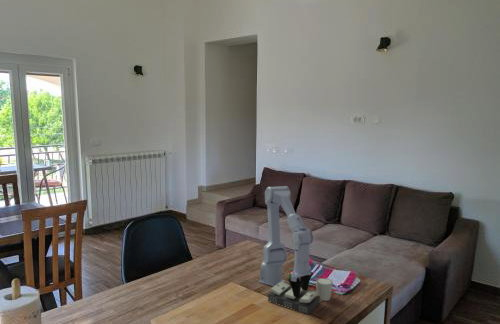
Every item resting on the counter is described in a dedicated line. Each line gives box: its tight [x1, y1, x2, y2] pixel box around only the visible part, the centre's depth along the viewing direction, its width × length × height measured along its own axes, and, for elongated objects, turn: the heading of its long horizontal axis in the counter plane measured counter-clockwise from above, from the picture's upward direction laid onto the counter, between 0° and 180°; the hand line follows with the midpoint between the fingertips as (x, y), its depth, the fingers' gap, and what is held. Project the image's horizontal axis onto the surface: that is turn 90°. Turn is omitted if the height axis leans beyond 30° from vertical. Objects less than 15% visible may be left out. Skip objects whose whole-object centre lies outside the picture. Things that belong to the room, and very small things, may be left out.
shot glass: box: [315, 277, 334, 302], centre depth 153 cm, size 7×7×7 cm
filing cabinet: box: [267, 286, 321, 316], centre depth 148 cm, size 18×11×4 cm, turn 57°
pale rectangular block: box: [270, 281, 291, 295], centre depth 151 cm, size 4×9×1 cm, turn 147°
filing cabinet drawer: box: [285, 287, 305, 299], centre depth 148 cm, size 4×9×1 cm, turn 148°
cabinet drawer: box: [300, 290, 318, 303], centre depth 144 cm, size 4×9×1 cm, turn 148°
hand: (300, 293), depth 146 cm, fingers open, 7 cm apart
